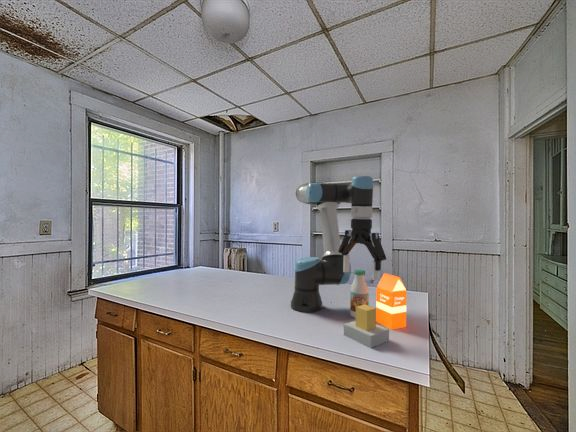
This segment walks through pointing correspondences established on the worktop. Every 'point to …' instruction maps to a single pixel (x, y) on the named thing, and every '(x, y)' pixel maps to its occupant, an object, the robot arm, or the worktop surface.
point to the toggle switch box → (366, 334)
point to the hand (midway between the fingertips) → (360, 275)
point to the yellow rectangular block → (365, 317)
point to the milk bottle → (358, 292)
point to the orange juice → (391, 302)
